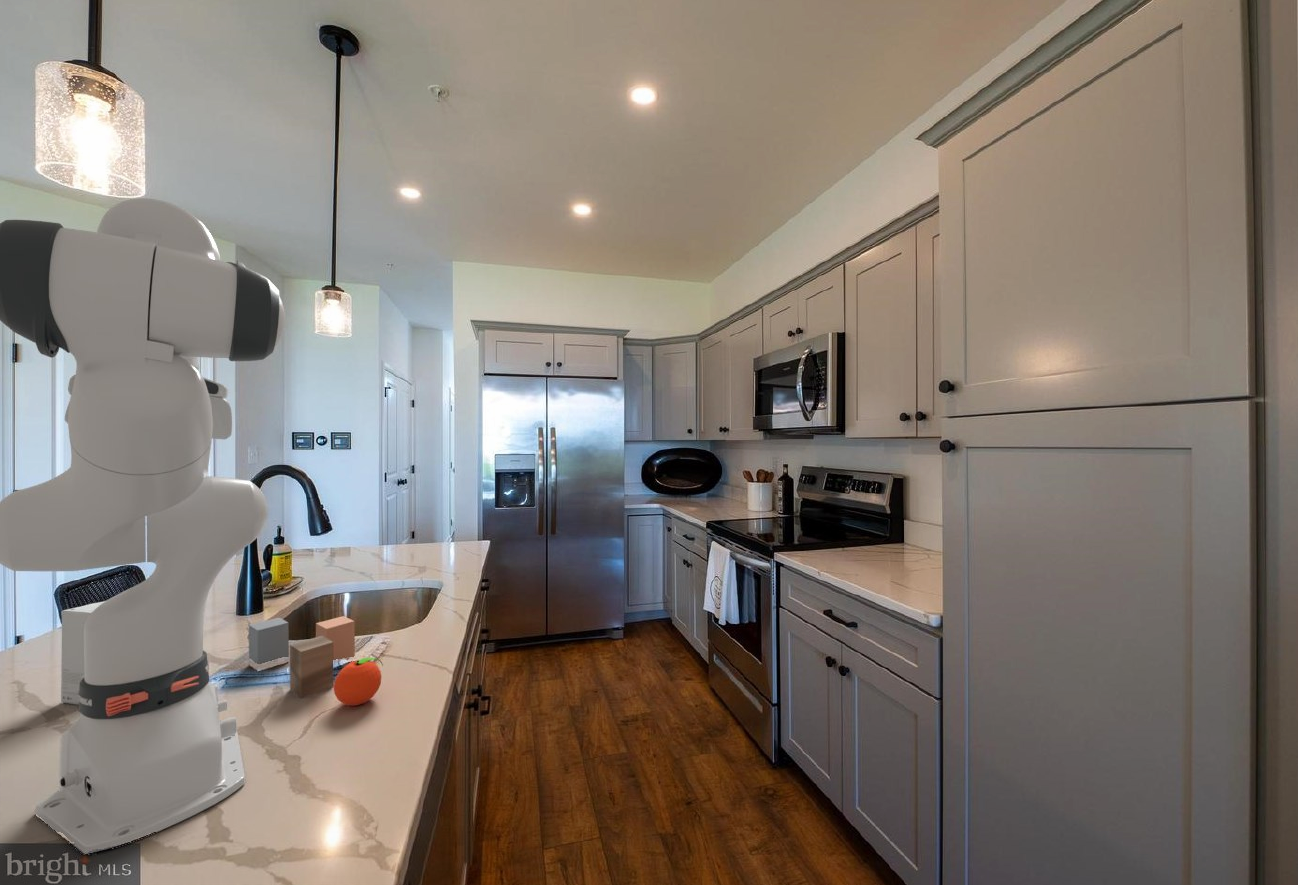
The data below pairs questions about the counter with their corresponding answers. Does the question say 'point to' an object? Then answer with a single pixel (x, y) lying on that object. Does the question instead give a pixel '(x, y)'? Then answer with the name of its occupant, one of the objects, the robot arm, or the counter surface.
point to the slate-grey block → (268, 640)
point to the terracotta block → (339, 636)
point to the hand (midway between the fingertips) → (150, 460)
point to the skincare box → (73, 650)
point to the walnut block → (311, 666)
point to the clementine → (357, 682)
